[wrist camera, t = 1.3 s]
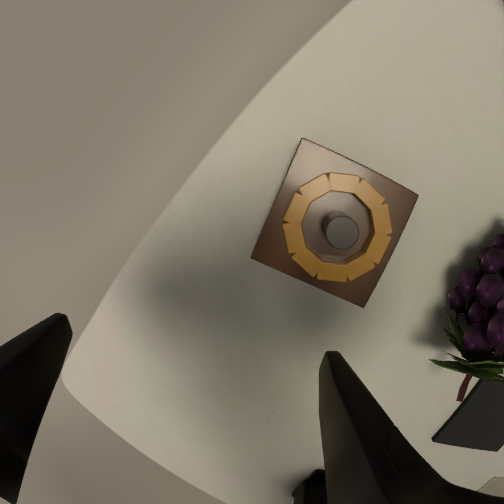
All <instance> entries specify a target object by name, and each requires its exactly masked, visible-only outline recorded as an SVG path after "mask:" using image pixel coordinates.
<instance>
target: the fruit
mask: <svg viewBox="0 0 504 504" xmlns="http://www.w3.org/2000/svg"><path fill="white" fill-rule="evenodd" d="M492 246H493V247H488V248H484V249H481V250H480V253H479V256H478V259H477V260H478V262H479V265H480V268H481V269H482V271H481V270H480V269H476V268H465V269H464V270H463V271H462V273H461V275H460V279H459V282H458V285H457V286H456V287H455V288H454V289H453V290H452V291H451V292H450V293H449V294H448V297H449V304H450V308H451V309H453V310H454V311H455V312H456V313H457V315H456V322H457V324H458V325H457V324H456V322H455V321H454V320H453V318H451V316H450V315H449V313H448V311H447V310H446V308H445V307H444V308H445V311H446V314H447V316H448V318H449V319H448V318H447V319H448V320H449V322H450V324H449V323H448V324H449V326H450V328H451V330H452V332H453V334H454V335H453V334H451V333H450V332H448V331H447V330H446V329H445V328H444V327H443V328H444V330H445V332H446V333H447V334H448V335H447V336H448V337H449V338H450V339H449V338H448V339H449V341H450V342H451V343H452V344H453V345H454V346H455V347H456V348H457V349H458V351H460V352H461V355H462V357H463V358H465V359H466V360H464V359H461V358H459V357H456V356H453V355H451V354H449V355H451V356H452V357H454V358H453V359H455V360H457V361H438V360H431V359H428V360H431V361H433V363H434V362H435V364H437V365H439V366H441V367H444V368H447V369H451V370H454V371H458V372H461V373H465V374H467V375H466V377H465V379H464V381H463V383H462V385H461V387H460V389H459V393H458V397H457V400H456V401H461V402H462V401H463V399H464V396H465V393H466V390H467V387H468V384H469V381H470V380H471V378H472V376H474V377H477V378H482V379H485V380H491V381H497V382H504V381H503V380H501V379H502V378H500V377H501V376H500V375H498V374H503V369H504V363H499V362H504V233H502V234H497V236H496V238H495V240H494V243H493V245H492ZM476 297H478V300H477V301H475V298H476ZM460 313H464V316H465V319H466V322H467V325H468V326H469V327H468V329H467V331H466V333H465V334H464V332H463V330H462V328H461V326H460V324H459V322H458V320H457V319H458V315H459V314H460ZM462 332H463V333H462ZM491 346H492V347H491ZM443 352H444V351H443ZM492 352H494V353H492ZM445 353H446V352H445ZM447 354H448V353H447ZM452 357H451V358H452ZM500 357H501V358H500ZM467 360H468V361H467Z"/></svg>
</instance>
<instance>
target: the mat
mask: <svg viewBox="0 0 504 504" xmlns="http://www.w3.org/2000/svg"><path fill="white" fill-rule="evenodd" d="M500 378H502V379H501V380H503V381H504V377H503V376H501V377H500ZM432 441H433V442H437V443H442V444H447V445H453V446H459V447H465V448H472V449H479V450H487V451H496V452H497V451H498V450H499V449H500V448H501V447H502V446H503V445H504V382H497V381H491V380H485V379H482V378H481V379H480V380H479V381H478V383H477V384H476V385H475V387H474V388H473V390H472V391H471V392H470V394H469V395H468V396H467V397H466V399H465V400H464V401H463V403H462V404H461V405H460V406H459V408H458V409H457V410H456V411H455V412H454V414H453V415H452V416H451V417H450V418H449V420H448V421H447V422H446V423H445V424H444V425H443V427H442V428H441V429H440V430H439V431H438V432H437V433H436V434H435V435H434V437H433V438H432Z"/></svg>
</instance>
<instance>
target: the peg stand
mask: <svg viewBox="0 0 504 504" xmlns="http://www.w3.org/2000/svg"><path fill="white" fill-rule="evenodd" d="M328 172H336V173H344V174H351V175H358V176H360V178H365V179H366V180H367V181H368V182H369V183H370V184H371V185H372V186H373V187H374V188H375V189H376V190H377V191H378V192H379V193H380V194H381V195H382V196H383V197H384V198H385V201H384V202H385V203H388V208H389V214H390V220H391V227H392V233H391V234H388V235H389V236H391V237H392V238H391V240H390V242H389V244H388V246H387V248H386V251H385V253H384V255H383V257H382V259H381V261H380V263H379V264H377V263H375V262H374V264H375V268H373V269H372V270H370V271H368V272H366V273H364V274H363V275H361V276H359V277H357V278H355V279H354V280H352V281H349V279H348V277H347V280H346V282H337V281H328V280H319V279H317V276H316V275H315V276H314V277H312V276H311V275H310V274H309V273H307V272H306V271H305V270H304V269H303V268H302V267H301V266H300V265H298V264H297V263H296V262H295V261H294V260H293V259H292V258H291V256H292V254H289V253H288V249H287V244H286V239H285V235H284V230H283V226H282V225H283V222H285V221H284V220H283V218H284V215H285V213H286V211H287V208H288V206H289V204H290V202H291V199H292V197H293V195H294V192H295V191H297V192H299V193H300V191H299V189H298V188H299V187H300V186H302V185H304V184H305V183H307V182H309V181H310V180H312V179H314V178H316V177H317V176H319V175H321V174H323V173H326V175H327V174H328ZM418 196H419V195H418V194H416V193H414V192H413V191H411V190H409V189H407V188H406V187H404V186H402V185H400V184H398V183H396V182H395V181H393V180H391V179H389V178H387V177H385V176H383V175H381V174H379V173H377V172H375V171H374V170H372V169H370V168H368V167H366V166H364V165H362V164H360V163H357V162H355V161H353V160H351V159H349V158H347V157H345V156H343V155H341V154H339V153H336V152H334V151H332V150H330V149H328V148H325V147H323V146H321V145H319V144H316V143H314V142H312V141H310V140H307V139H305V138H301V140H300V143H299V145H298V147H297V150H296V152H295V154H294V157H293V159H292V161H291V164H290V166H289V168H288V171H287V173H286V175H285V178H284V180H283V182H282V185H281V187H280V189H279V192H278V194H277V196H276V199H275V201H274V203H273V206H272V208H271V210H270V213H269V215H268V217H267V220H266V222H265V224H264V227H263V229H262V231H261V234H260V236H259V238H258V241H257V243H256V245H255V248H254V250H253V252H252V255H251V259H254V260H256V261H258V262H260V263H263V264H265V265H267V266H269V267H272V268H274V269H276V270H278V271H281V272H283V273H285V274H287V275H290V276H292V277H294V278H296V279H299V280H301V281H303V282H306V283H308V284H310V285H312V286H315V287H317V288H319V289H321V290H324V291H326V292H328V293H330V294H333V295H335V296H337V297H339V298H342V299H344V300H346V301H349V302H351V303H353V304H355V305H358V306H360V307H362V308H364V307H365V305H366V303H367V301H368V300H369V298H370V296H371V294H372V292H373V290H374V288H375V287H376V285H377V283H378V281H379V279H380V277H381V275H382V273H383V271H384V269H385V267H386V265H387V263H388V261H389V259H390V257H391V255H392V253H393V251H394V249H395V247H396V245H397V243H398V241H399V239H400V237H401V234H402V232H403V230H404V228H405V226H406V224H407V221H408V219H409V217H410V215H411V212H412V210H413V208H414V205H415V203H416V201H417V198H418ZM302 227H303V232H304V237H305V242H306V244H307V245H308V246H309V247H310V248H311V249H312V250H313V251H314V252H316V253H317V254H318V255H319V256H320V257H321V258H324V259H333V260H342V261H344V260H345V259H347V258H349V257H351V256H353V255H354V254H356V253H358V252H360V251H362V249H363V247H364V245H365V243H366V241H367V239H368V236H369V234H370V232H371V225H370V220H369V214H368V209H367V208H366V207H365V206H364V205H363V204H362V203H361V202H360V201H359V200H358V199H357V198H356V197H355V196H354V195H353V194H351V193H343V192H336V191H330V192H329V193H327V194H325V195H323V196H322V197H320V198H318V199H316V200H315V201H313V202H311V204H310V206H309V208H308V210H307V213H306V215H305V217H304V219H303V221H302Z"/></svg>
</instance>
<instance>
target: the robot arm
mask: <svg viewBox="0 0 504 504" xmlns="http://www.w3.org/2000/svg"><path fill="white" fill-rule="evenodd" d="M72 334H73V333H72V329H71V326H70V323H69V320H68V318H67V316H66V315H65V314H61V313H55V314H53V315H51V316H50V317H48V318H46V319H45V320H43V321H41V322H40V323H38V324H36V325H35V326H33V327H31V328H29V329H28V330H26V331H25V332H23V333H21V334H20V335H18V336H16V337H15V338H13V339H11V340H10V341H8V342H7V343H5V344H4V345H2V346H0V497H1V498H3V499H5V500H6V501H8V502H10V503H11V504H16V503H17V499H18V495H19V491H20V488H21V484H22V480H23V476H24V473H25V469H26V466H27V463H28V459H29V456H30V452H31V450H32V446H33V443H34V440H35V438H36V435H37V432H38V429H39V426H40V423H41V420H42V418H43V415H44V412H45V410H46V407H47V405H48V402H49V399H50V397H51V394H52V392H53V389H54V387H55V384H56V382H57V380H58V377H59V375H60V372H61V370H62V367H63V364H64V360H65V357H66V354H67V351H68V348H69V345H70V342H71V339H72ZM319 419H320V428H321V437H322V446H323V456H324V466H325V471H322V470H316V471H315V472H314V473H313V474H312V475H311V476H310V477H309V478H308V479H306V480H305V481H304V482H303V483H301V484H300V485H299V486H298V487H297V488H296V489H295V491H294V492H293V493H292V496H293V497H294V504H504V497H498V496H493V495H489V494H485V493H481V492H477V491H474V490H470V489H466V488H463V487H459V486H456V485H453V484H451V483H449V482H448V481H446V480H445V479H444V478H442V477H441V476H440V475H439V474H438V473H437V472H436V471H435V470H434V469H433V468H432V467H431V466H430V465H429V464H428V463H427V462H426V461H425V459H424V458H423V457H422V456H421V455H420V454H419V453H418V452H417V451H416V450H415V449H414V448H413V447H412V446H411V445H410V443H409V442H408V441H407V440H406V438H405V437H404V436H403V435H402V433H401V432H400V431H399V430H398V428H397V427H396V426H394V423H393V422H392V421H391V419H390V418H389V417H388V415H387V414H386V413H385V411H384V410H383V409H382V407H381V406H380V405H379V404H378V402H377V401H376V400H375V398H374V397H373V396H372V394H371V393H370V392H369V390H368V389H367V388H366V387H365V385H364V384H363V383H362V381H361V380H360V379H359V377H358V376H357V375H356V374H355V372H354V371H353V370H352V368H351V367H350V366H349V364H348V363H347V362H346V361H345V359H344V358H343V357H342V355H341V354H340V353H339V352H338V351H326V352H325V354H324V357H323V360H322V362H321V365H320V369H319Z"/></svg>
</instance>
